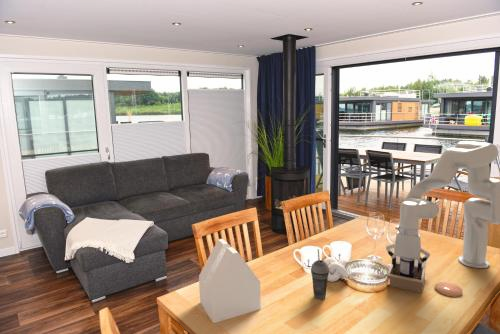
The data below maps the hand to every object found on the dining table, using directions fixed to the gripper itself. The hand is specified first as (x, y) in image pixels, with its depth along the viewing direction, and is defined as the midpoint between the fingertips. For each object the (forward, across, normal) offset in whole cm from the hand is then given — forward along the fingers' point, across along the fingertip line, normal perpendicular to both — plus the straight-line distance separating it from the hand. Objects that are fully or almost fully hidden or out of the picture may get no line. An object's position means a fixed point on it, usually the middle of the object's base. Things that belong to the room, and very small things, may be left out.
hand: (406, 268), depth 154 cm
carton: (+6, 0, 0) cm, 6 cm away
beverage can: (+6, 0, 0) cm, 6 cm away
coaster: (+6, +16, 0) cm, 17 cm away
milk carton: (+7, -58, -51) cm, 77 cm away
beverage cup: (+7, -29, -29) cm, 41 cm away
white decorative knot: (+7, -27, -11) cm, 30 cm away
